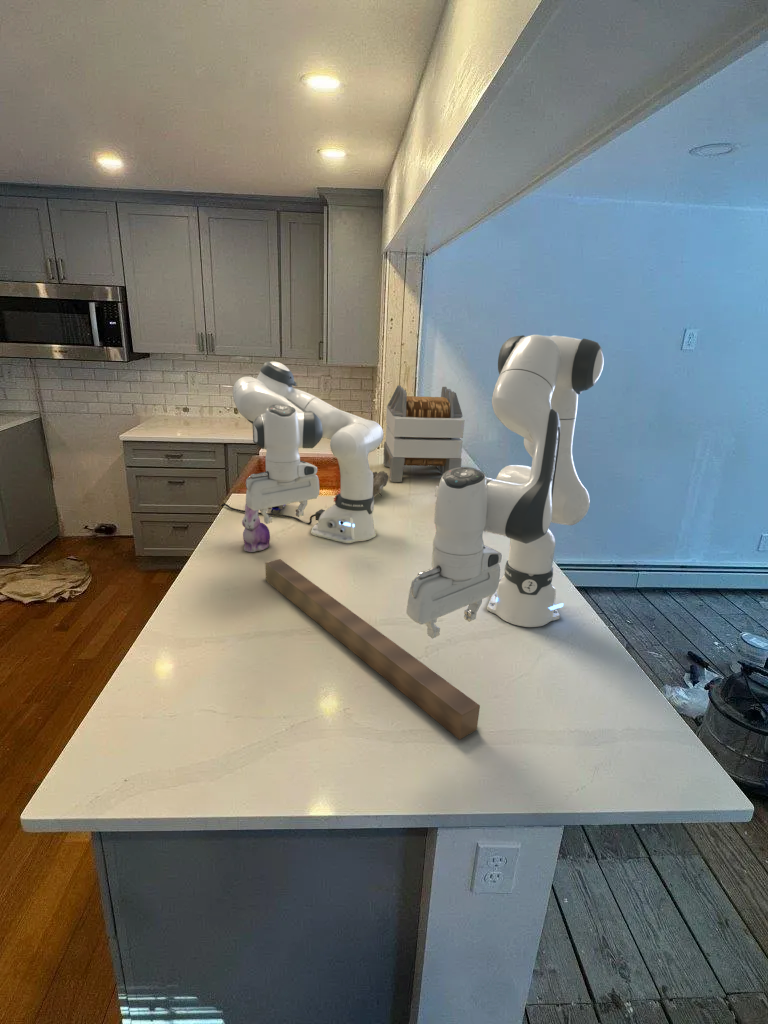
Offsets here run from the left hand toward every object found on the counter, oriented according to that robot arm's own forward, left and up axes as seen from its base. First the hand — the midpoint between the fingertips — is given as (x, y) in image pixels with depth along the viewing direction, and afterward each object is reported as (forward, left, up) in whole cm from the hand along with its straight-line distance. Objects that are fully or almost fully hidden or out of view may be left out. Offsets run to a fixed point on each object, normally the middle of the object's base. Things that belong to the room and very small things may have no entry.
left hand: (284, 519), depth 151 cm
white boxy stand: (+9, +131, -21) cm, 133 cm away
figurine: (-21, +22, -21) cm, 37 cm away
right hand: (+52, -37, -1) cm, 64 cm away
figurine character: (-31, +58, -21) cm, 69 cm away
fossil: (-2, +88, -21) cm, 91 cm away
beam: (+26, -19, -21) cm, 38 cm away
